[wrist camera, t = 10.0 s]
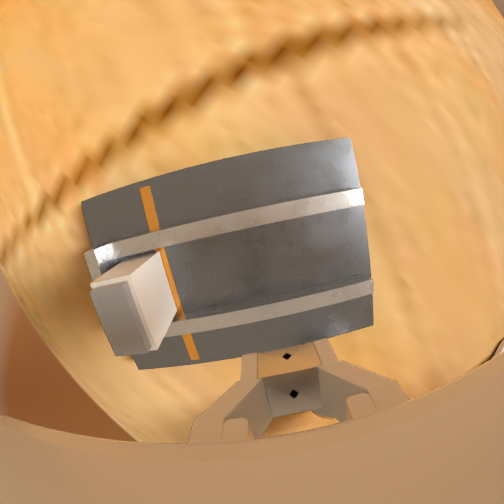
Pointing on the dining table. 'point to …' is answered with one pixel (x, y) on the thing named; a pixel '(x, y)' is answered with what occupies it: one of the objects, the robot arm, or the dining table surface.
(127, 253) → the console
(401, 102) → the dining table surface
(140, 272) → the fader tab
